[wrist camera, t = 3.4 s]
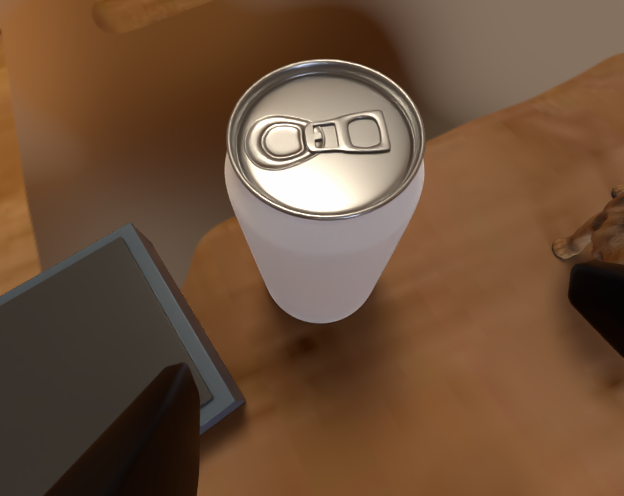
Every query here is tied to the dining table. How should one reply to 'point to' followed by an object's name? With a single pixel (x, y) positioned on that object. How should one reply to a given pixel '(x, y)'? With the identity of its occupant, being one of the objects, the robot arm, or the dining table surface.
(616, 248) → the lion figurine
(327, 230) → the can
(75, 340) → the riser
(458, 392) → the dining table surface
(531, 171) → the dining table surface
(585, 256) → the dining table surface
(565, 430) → the dining table surface
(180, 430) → the robot arm
